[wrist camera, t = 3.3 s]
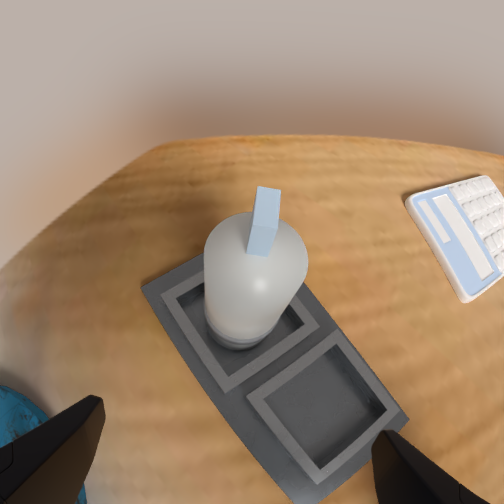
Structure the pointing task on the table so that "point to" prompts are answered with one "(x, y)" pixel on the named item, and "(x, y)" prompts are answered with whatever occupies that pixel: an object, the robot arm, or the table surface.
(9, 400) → the desk lamp
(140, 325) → the table surface
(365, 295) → the table surface
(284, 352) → the panel
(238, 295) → the plug
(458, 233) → the calculator
